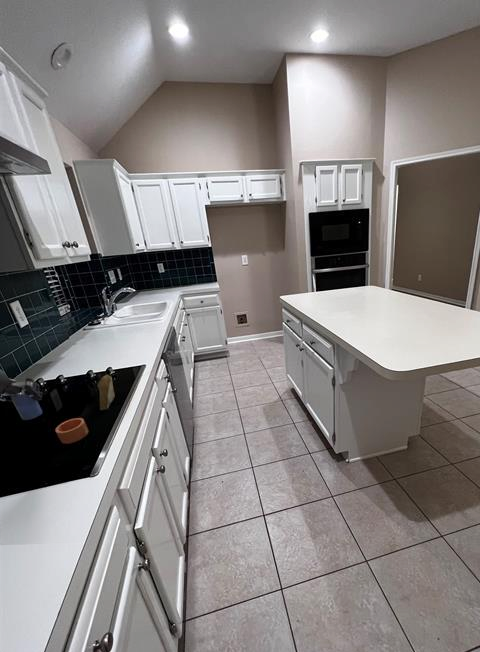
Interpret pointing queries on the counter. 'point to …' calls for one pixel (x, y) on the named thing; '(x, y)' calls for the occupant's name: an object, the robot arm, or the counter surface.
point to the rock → (106, 392)
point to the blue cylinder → (27, 407)
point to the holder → (72, 430)
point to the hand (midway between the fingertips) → (30, 398)
